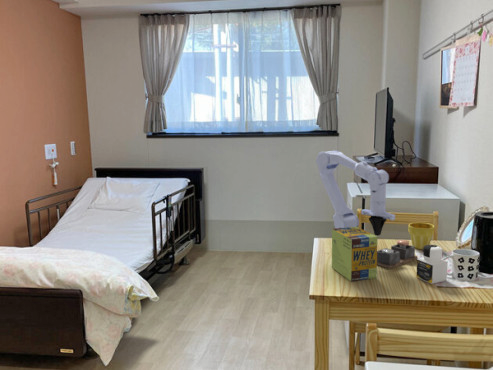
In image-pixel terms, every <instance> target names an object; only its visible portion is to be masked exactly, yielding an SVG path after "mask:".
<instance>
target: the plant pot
mask: <svg viewBox="0 0 493 370" xmlns="http://www.w3.org/2000/svg"><path fill="white" fill-rule="evenodd" d="M407 226H408V227H407V230H408V232H407V233H408V234H409V235H410V240H411V246H414V247H415V250H417V249H418V250H423V247H424V246H426V245H431V242H432V237H433V236H434V234H435V225H434V224H432V223H428V222H421V221H420V222H416V221H415V222H410V223H409V224H408V225H407Z"/></svg>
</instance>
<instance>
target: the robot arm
mask: <svg viewBox="0 0 493 370" xmlns="http://www.w3.org/2000/svg"><path fill="white" fill-rule="evenodd" d="M315 162H316V165H317V167H318V174H319V177H320V180H321V182H322V185H323V187H324V189H325V191H326V194H327V196H328V198H329V201H330V204H331V205H332V207H333V210H334V214H333V216H332V219H333V224H334V225H333V226H334V229H336V228H347V227H358V228H359V225H360V219H359V217H358V216H357V215H356V214H355V212H354V210H353V209H351V208H350V207H348V205H347V203H346V201H345V199H344V197H343V194H342V192H341V189H340V187H339V185H338V183H337V180H336V177H335V175H334V172H335V171H336V170H337V168H338V166H339V165H341V166H343V167H345V168H348V169H349V170H353V171H354V174H355V176H357V177H359V178H361V179H363V180H364V181H366V182H367V183H368V185H369V189H370V199H369V201H370V203H369V204H370V205H369V209H366V208H365V209H361V210H360V211H361V213H360V214H361V215H366V216H370V217H368V221H369V222H370V224H371V226H372V229H373V233H374V234H373V235H375V236H377V237H378V236H381V234H382V231H383V228H384V225H385V224H386V222H387V220H389V221H395V220H396V214H393V213H390V212H387V211H386V206H387V205H386V202H387V200H386V198H387V196H386V195H387V194H386V193H387V192H386V191H387V189H386V188H387V187H386V185H387V183H389V180H390V175H389V173H388V171H386V170H384V169H378V168H377V167H375V166H374V167H373V166H371V165H370V164H368V163H369V162H367V161H361V162H357V161H355V160H354V159H352V158H351V157H348V155H345V154H344V153H343V152H342V151H339V150H336V149H335V150H329V151H319V153H318V154H317V155H316V159H315Z"/></svg>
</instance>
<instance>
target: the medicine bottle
mask: <svg viewBox="0 0 493 370" xmlns="http://www.w3.org/2000/svg"><path fill="white" fill-rule="evenodd" d="M416 278H417V279H419V280H422V281H424V282H426V283H429V284H431V285H434V284H438V283H441V282H446V281H447V280H448V261H447V260H445V259H443V248H442V247H441V246H439V245H436V244H430V245H426V246H424V247H423V249H422V257H419V258H418V257H417V259H416Z"/></svg>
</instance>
